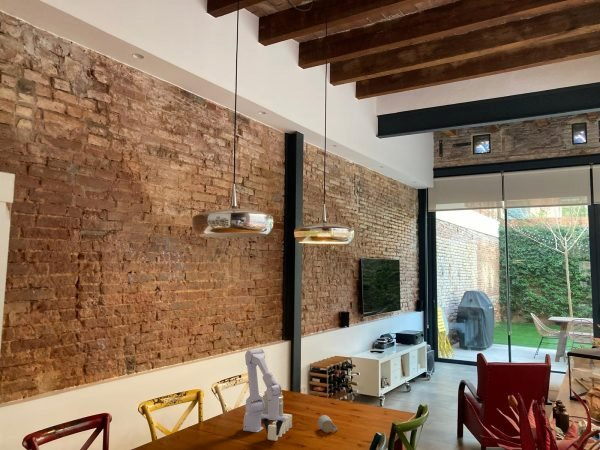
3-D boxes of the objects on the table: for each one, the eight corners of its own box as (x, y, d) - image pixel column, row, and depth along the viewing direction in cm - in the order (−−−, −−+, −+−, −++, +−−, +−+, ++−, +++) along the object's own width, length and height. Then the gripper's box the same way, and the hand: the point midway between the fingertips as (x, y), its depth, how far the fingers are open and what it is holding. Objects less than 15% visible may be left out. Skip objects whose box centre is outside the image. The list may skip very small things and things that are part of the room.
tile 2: (279, 429, 260) (279, 417, 260) (280, 428, 262) (280, 416, 262) (287, 431, 258) (287, 418, 259) (288, 430, 260) (288, 417, 261)
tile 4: (272, 435, 250) (272, 422, 251) (273, 434, 252) (273, 421, 253) (280, 437, 249) (280, 423, 249) (282, 435, 250) (282, 422, 251)
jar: (280, 420, 276) (280, 390, 278) (259, 418, 279) (260, 388, 280) (285, 413, 289) (285, 385, 290) (265, 412, 291) (266, 383, 293)
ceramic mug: (321, 434, 254) (322, 419, 255) (317, 429, 262) (317, 415, 263) (339, 432, 257) (340, 418, 258) (334, 428, 265) (335, 414, 266)
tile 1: (282, 427, 264) (282, 414, 265) (283, 426, 266) (283, 413, 267) (290, 428, 263) (290, 415, 263) (291, 427, 265) (291, 414, 265)
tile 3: (275, 432, 255) (275, 419, 256) (277, 431, 257) (277, 418, 258) (284, 434, 253) (284, 420, 254) (285, 432, 255) (285, 419, 256)
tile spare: (267, 439, 245) (267, 425, 245) (269, 438, 246) (269, 424, 247) (276, 440, 243) (276, 427, 244) (277, 439, 245) (278, 425, 245)
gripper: (258, 408, 245) (257, 434, 244) (283, 411, 240) (282, 438, 239) (263, 404, 252) (262, 430, 250) (288, 407, 247) (287, 434, 245)
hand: (272, 434), depth 245 cm, fingers closed on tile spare, 5 cm apart
